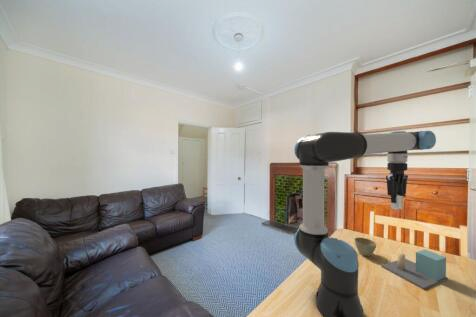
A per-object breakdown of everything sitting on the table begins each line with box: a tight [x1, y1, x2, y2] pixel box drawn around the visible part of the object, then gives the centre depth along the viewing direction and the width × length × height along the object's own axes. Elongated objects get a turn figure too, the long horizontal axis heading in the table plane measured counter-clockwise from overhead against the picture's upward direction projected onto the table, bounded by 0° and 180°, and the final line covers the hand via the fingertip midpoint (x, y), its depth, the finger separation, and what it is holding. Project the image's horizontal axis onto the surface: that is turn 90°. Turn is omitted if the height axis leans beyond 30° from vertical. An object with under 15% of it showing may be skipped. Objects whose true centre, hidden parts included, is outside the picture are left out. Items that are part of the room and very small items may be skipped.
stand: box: [381, 252, 449, 290], centre depth 84 cm, size 18×16×8 cm
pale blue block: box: [415, 249, 447, 281], centre depth 82 cm, size 7×7×9 cm
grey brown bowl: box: [354, 237, 377, 257], centre depth 101 cm, size 10×10×7 cm
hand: (396, 208), depth 90 cm, fingers open, 3 cm apart
